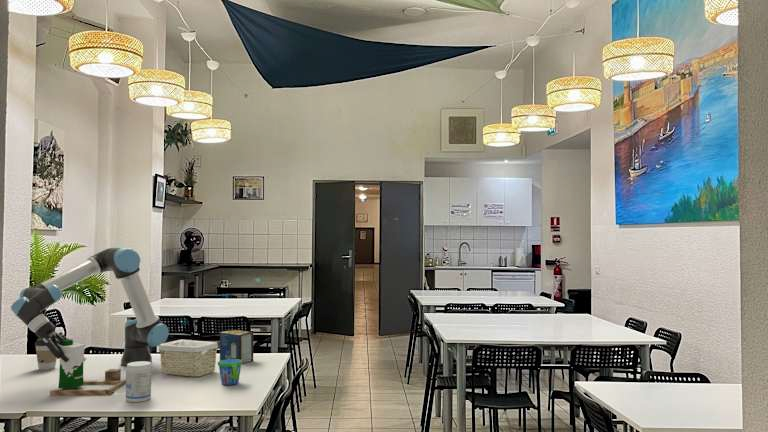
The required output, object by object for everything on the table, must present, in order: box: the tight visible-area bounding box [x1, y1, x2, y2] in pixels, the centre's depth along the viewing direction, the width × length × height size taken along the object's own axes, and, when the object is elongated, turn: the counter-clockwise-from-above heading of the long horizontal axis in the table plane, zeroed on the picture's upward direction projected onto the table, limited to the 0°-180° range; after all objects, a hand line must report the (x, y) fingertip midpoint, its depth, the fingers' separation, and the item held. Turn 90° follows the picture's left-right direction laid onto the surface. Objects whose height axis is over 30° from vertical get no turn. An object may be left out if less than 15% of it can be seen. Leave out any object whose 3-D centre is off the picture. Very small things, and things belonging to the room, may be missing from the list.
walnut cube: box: [104, 368, 122, 381], centre depth 277 cm, size 5×5×5 cm
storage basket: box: [158, 338, 219, 378], centre depth 298 cm, size 24×16×15 cm
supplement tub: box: [125, 361, 153, 403], centre depth 249 cm, size 10×10×15 cm
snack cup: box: [217, 359, 243, 386], centre depth 276 cm, size 16×10×10 cm
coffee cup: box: [34, 338, 58, 371], centre depth 308 cm, size 11×11×15 cm
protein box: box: [219, 329, 254, 364], centre depth 327 cm, size 10×15×16 cm
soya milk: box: [58, 338, 86, 390], centre depth 264 cm, size 9×9×20 cm
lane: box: [49, 380, 126, 397], centre depth 264 cm, size 25×17×2 cm
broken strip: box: [83, 379, 125, 381], centre depth 277 cm, size 21×5×1 cm, turn 93°
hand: (79, 363), depth 264 cm, fingers closed on soya milk, 9 cm apart
